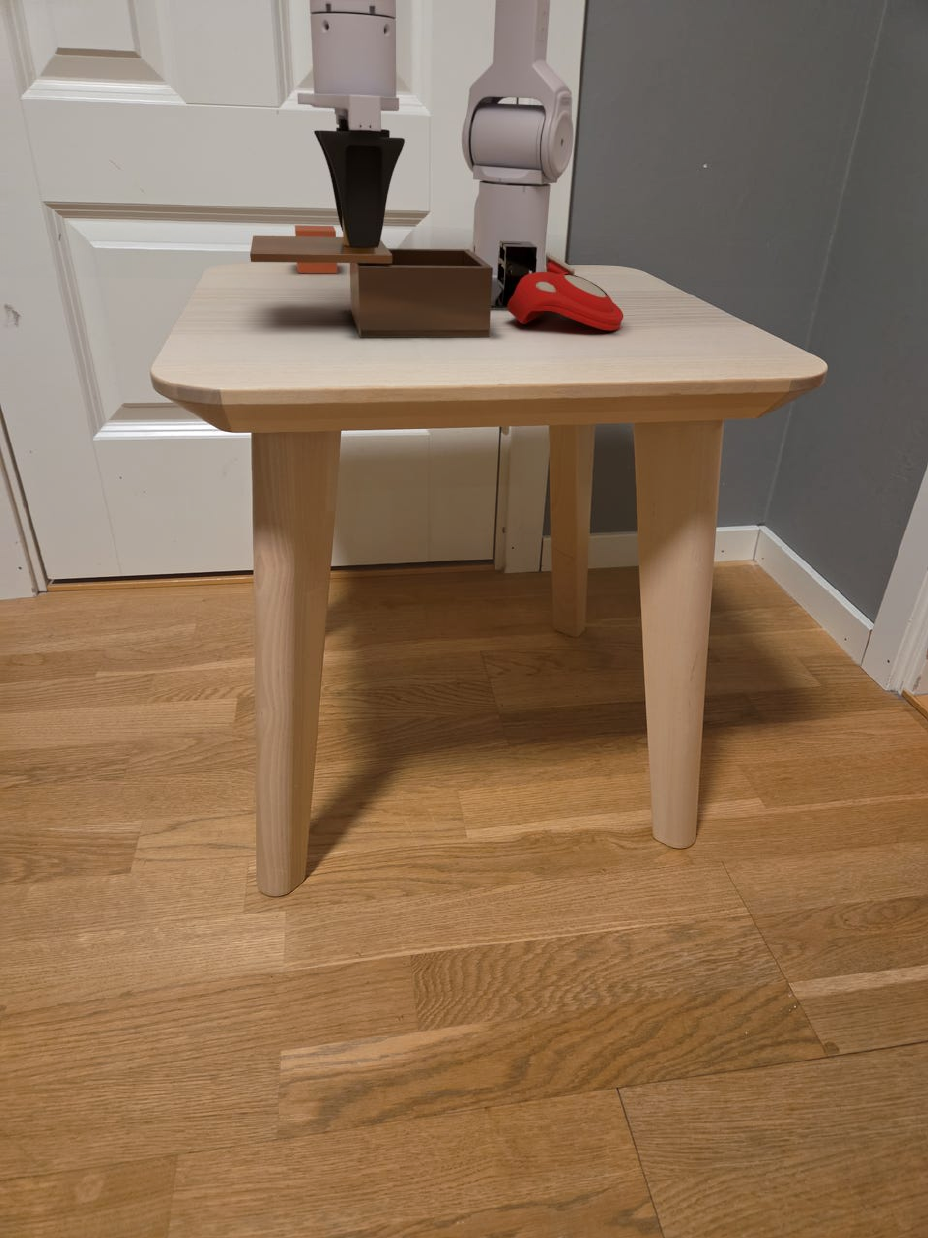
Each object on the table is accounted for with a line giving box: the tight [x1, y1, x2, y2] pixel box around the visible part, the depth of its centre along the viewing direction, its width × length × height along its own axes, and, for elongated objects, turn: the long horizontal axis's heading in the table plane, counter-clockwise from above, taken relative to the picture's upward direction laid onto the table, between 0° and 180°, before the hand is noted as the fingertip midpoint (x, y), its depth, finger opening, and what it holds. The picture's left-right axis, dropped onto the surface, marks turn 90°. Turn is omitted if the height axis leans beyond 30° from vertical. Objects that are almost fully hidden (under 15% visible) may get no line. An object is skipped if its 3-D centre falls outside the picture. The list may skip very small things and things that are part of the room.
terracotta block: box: [294, 224, 338, 274], centre depth 85 cm, size 4×4×4 cm
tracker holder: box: [506, 252, 624, 331], centre depth 68 cm, size 12×4×10 cm
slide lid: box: [249, 215, 392, 264], centre depth 61 cm, size 9×10×4 cm
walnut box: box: [349, 247, 493, 338], centre depth 65 cm, size 9×10×5 cm
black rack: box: [491, 241, 537, 310], centre depth 77 cm, size 12×7×5 cm, turn 7°
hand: (359, 239), depth 62 cm, fingers open, 7 cm apart
